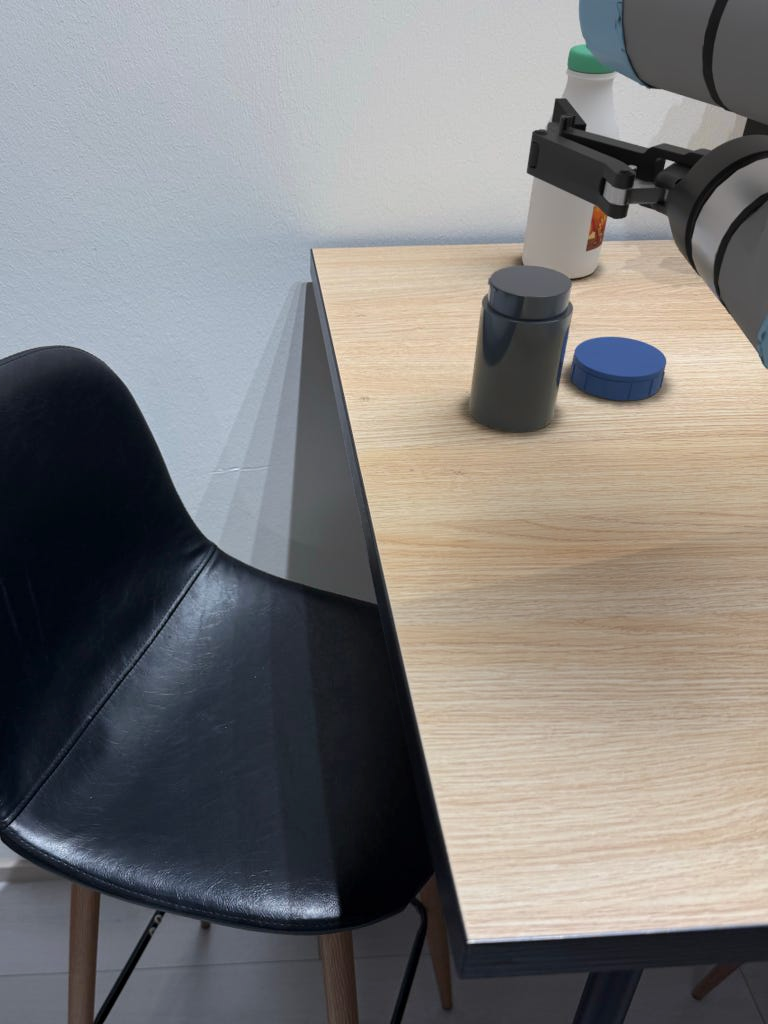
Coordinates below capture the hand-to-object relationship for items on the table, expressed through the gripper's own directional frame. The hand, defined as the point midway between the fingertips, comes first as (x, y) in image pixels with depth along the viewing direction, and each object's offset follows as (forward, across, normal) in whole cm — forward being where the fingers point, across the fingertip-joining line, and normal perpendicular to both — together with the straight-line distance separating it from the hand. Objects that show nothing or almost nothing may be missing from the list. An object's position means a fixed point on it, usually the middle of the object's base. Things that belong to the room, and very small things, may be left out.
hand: (654, 119), depth 72 cm
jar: (-3, -8, -21) cm, 23 cm away
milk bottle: (+28, +2, -21) cm, 35 cm away
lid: (+3, +2, -19) cm, 20 cm away
